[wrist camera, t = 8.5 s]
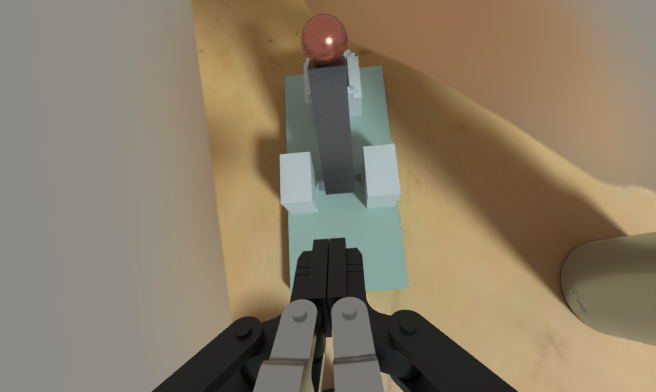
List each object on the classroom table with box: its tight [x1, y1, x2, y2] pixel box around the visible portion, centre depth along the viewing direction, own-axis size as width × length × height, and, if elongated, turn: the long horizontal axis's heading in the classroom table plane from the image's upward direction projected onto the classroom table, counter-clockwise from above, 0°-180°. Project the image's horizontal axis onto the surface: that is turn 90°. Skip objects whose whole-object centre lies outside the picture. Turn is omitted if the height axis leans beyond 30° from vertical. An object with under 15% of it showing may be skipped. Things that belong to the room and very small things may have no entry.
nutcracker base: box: [280, 50, 408, 295], centre depth 34 cm, size 12×26×7 cm, turn 3°
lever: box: [301, 14, 362, 195], centre depth 28 cm, size 4×4×16 cm
